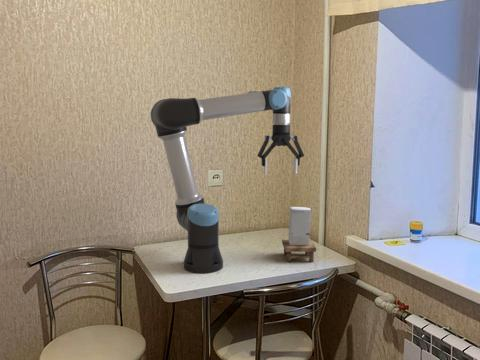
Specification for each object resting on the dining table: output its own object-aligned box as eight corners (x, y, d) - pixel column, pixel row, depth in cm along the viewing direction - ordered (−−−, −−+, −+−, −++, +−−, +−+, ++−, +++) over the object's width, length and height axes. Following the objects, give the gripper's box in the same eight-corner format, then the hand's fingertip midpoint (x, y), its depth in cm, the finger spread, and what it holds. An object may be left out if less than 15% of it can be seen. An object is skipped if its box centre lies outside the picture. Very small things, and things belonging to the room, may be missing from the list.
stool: (285, 262, 172) (285, 248, 171) (281, 253, 183) (282, 239, 183) (315, 262, 172) (316, 248, 171) (310, 253, 184) (310, 239, 183)
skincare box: (289, 245, 174) (290, 209, 172) (288, 241, 180) (288, 206, 178) (310, 245, 174) (311, 209, 172) (308, 241, 180) (309, 206, 178)
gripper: (306, 124, 192) (305, 171, 195) (250, 124, 187) (250, 173, 190) (312, 124, 185) (310, 173, 187) (254, 124, 180) (254, 175, 183)
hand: (280, 173), depth 189 cm, fingers open, 13 cm apart
